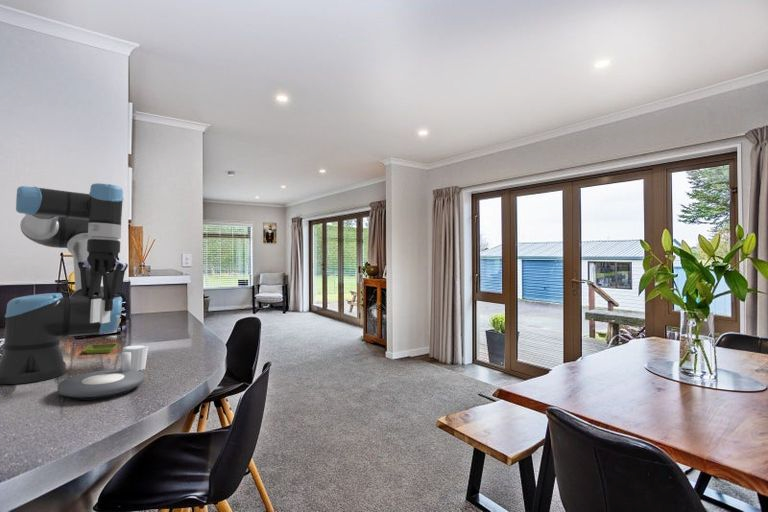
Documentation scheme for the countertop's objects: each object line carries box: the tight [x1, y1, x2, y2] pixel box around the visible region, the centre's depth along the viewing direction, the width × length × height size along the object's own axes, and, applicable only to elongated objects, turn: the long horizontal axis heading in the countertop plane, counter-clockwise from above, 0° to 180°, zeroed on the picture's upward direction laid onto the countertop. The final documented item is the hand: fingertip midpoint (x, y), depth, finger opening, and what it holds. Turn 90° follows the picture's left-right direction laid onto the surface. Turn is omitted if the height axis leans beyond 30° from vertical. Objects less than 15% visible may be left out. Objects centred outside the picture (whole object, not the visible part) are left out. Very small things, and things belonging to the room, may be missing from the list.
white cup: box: [122, 344, 149, 371], centre depth 118 cm, size 7×7×7 cm
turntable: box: [57, 352, 145, 398], centre depth 98 cm, size 18×18×6 cm
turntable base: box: [71, 389, 132, 401], centre depth 98 cm, size 13×13×1 cm
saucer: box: [83, 343, 119, 355], centre depth 137 cm, size 9×9×2 cm
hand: (99, 322), depth 105 cm, fingers open, 2 cm apart
